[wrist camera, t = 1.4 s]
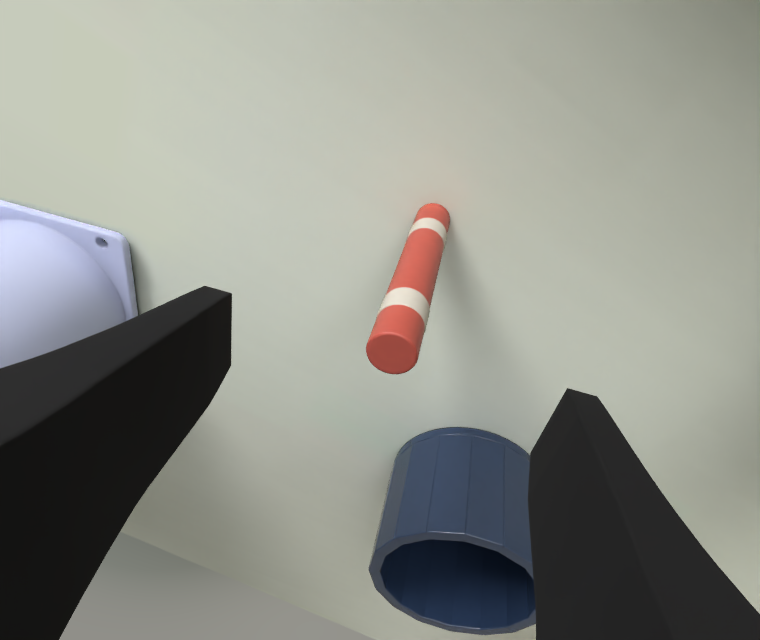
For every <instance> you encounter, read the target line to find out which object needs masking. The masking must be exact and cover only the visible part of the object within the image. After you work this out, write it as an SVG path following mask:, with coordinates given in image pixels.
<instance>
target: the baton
mask: <svg viewBox="0 0 760 640" xmlns="http://www.w3.org/2000/svg"><path fill="white" fill-rule="evenodd" d="M449 223H450V216H449V213H448V211H447V210H446V209H445V208H444V207H443V206H441V205H439V204H434V203H431V204H427V205H424V206H423V207H422V208H420V210H419V211H418V213H417V215H416V218H415V221H414V223H413V225H412V227H411V229H410V232H409V234H408V237H407V240H406V244H405V247H404V249H403V252H402V254H401V257H400V260H399V262H398V265H397V267H396V270H395V272H394V275H393V278H392V280H391V283H390V285H389V288H388V291H387V293H386V296H385V297H384V299H383V301H382V304H381V307H380V309H379V312H378V314H377V317H376V322H375V324H374V327H373V330H372V332H371V335H370V337H369V340H368V343H367V346H366V352H367V356H368V359H369V361H370V362H371V363H372V364H373V365H374V366H375V367H376V368H377V369H379V370H381V371H383V372H385V373H389V374H401V373H405V372H407V371H409V370H410V369H412V368H413V367H414V366H415V364H416V363H417V360H418V356H419V352H420V347H421V343H422V339H423V335H424V333H425V330H426V325H427V321H428V317H429V312H430V305H431V300H432V296H433V292H434V288H435V283H436V279H437V275H438V270H439V266H440V262H441V258H442V253H443V251H444V248H445V243H446V239H447V232H448V228H449Z"/></svg>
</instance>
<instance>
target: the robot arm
mask: <svg viewBox="0 0 760 640" xmlns="http://www.w3.org/2000/svg"><path fill="white" fill-rule="evenodd" d="M103 239H104V240H105V241H106V242H107V244H106V243H105V242H104V241H103ZM231 320H232V293H228V292H225V291H221V290H218V289H214V288H211V287H207V286H203V287H201V288H198V289H196V290H194V291H191V292H189V293H187V294H185V295H182V296H180V297H178V298H176V299H174V300H171V301H169V302H167V303H165V304H163V305H161V306H158V307H156V308H154V309H152V310H150V311H147V312H145V313H143V314H141V315H139V316H138V310H137V302H136V294H135V286H134V279H133V271H132V263H131V255H130V247H129V243H128V241H127V239H126V238H125V237H124V236H123V235H122V234H120V233H118V232H115V231H111V230H107V229H104V228H100V227H97V226H93V225H89V224H86V223H82V222H79V221H75V220H71V219H68V218H64V217H61V216H57V215H53V214H50V213H46V212H42V211H39V210H35V209H32V208H28V207H24V206H21V205H17V204H14V203H10V202H6V201H3V200H0V640H59V638H60V637H61V635H62V633H63V631H64V629H65V627H66V625H67V624H68V622H69V620H70V618H71V616H72V614H73V612H74V611H75V609H76V607H77V605H78V603H79V601H80V599H81V598H82V596H83V594H84V592H85V591H86V589H87V587H88V585H89V584H90V582H91V580H92V578H93V577H94V575H95V573H96V571H97V570H98V568H99V566H100V564H101V563H102V561H103V559H104V557H105V556H106V554H107V552H108V550H109V549H110V547H111V546H112V544H113V542H114V540H115V539H116V537H117V535H118V534H119V532H120V531H121V529H122V527H123V526H124V524H125V522H126V521H127V519H128V517H129V516H130V514H131V512H132V511H133V509H134V507H135V506H136V504H137V503H138V501H139V500H140V498H141V497H142V496H143V494H144V493H145V491H146V490H147V488H148V487H149V485H150V484H151V483H152V481H153V480H154V479H155V477H156V476H157V475H158V473H159V472H160V471H161V469H162V468H163V467H164V465H165V464H166V463H167V461H168V460H169V459H170V457H171V456H172V455H173V453H174V452H175V451H176V449H177V448H178V446H179V445H180V444H181V442H182V441H183V440H184V438H185V437H186V436H187V434H188V433H189V432H190V430H191V429H192V428H193V426H194V425H195V424H196V422H197V421H198V419H199V418H200V417H201V415H202V414H203V413H204V411H205V410H206V408H207V407H208V406H209V404H210V403H211V401H212V399H213V397H214V396H215V394H216V392H217V390H218V389H219V387H220V385H221V383H222V381H223V379H224V378H225V376H226V374H227V372H228V370H229V368H230V366H231ZM528 510H529V525H530V540H531V554H532V567H533V581H534V594H535V608H536V640H760V614H759V613H758V612H757V611H756V609H755V608H754V607H753V606H752V605H751V604H750V603H749V602H748V600H747V599H746V598H745V597H744V596H743V595H742V593H741V592H740V591H739V590H738V589H737V588H736V586H735V585H734V584H733V583H732V582H731V581H730V579H729V578H728V577H727V576H726V575H725V574H724V572H723V571H722V570H721V569H720V568H719V567H718V565H717V564H716V563H715V562H714V561H713V559H712V558H711V557H710V556H709V554H708V553H707V552H706V551H705V549H704V548H703V547H702V546H701V544H700V543H699V542H698V540H697V539H696V538H695V537H694V535H693V534H692V533H691V531H690V530H689V529H688V527H687V526H686V525H685V523H684V522H683V521H682V519H681V518H680V517H679V516H678V514H677V513H676V512H675V510H674V509H673V507H672V506H671V505H670V503H669V502H668V500H667V499H666V498H665V496H664V495H663V494H662V492H661V491H660V489H659V488H658V486H657V485H656V484H655V482H654V481H653V479H652V478H651V476H650V475H649V473H648V472H647V470H646V469H645V468H644V466H643V465H642V463H641V462H640V460H639V459H638V457H637V456H636V454H635V453H634V451H633V450H632V448H631V446H630V445H629V443H628V442H627V440H626V439H625V437H624V436H623V434H622V433H621V431H620V430H619V428H618V427H617V425H616V424H615V422H614V420H613V419H612V417H611V416H610V414H609V413H608V411H607V410H606V408H605V407H604V405H603V404H602V403H601V401H600V400H599V398H598V397H597V396H593V395H590V394H586V393H583V392H579V391H575V390H572V389H568V388H567V390H566V392H565V393H564V395H563V397H562V399H561V400H560V402H559V404H558V406H557V407H556V409H555V411H554V413H553V414H552V416H551V418H550V420H549V421H548V423H547V425H546V427H545V429H544V430H543V432H542V434H541V436H540V437H539V439H538V441H537V443H536V444H535V446H534V448H533V450H532V451H531V455H530V469H529V485H528Z"/></svg>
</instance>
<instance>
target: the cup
mask: <svg viewBox="0 0 760 640" xmlns="http://www.w3.org/2000/svg"><path fill="white" fill-rule="evenodd" d="M529 469H530V455H529V454H528V453H527V452H526V451H525V450H523V449H522V448H521V447H519V446H518V445H517V444H515V443H513V442H511V441H510V440H508V439H506V438H504V437H501V436H499V435H496V434H493V433H491V432H487V431H483V430H479V429H472V428H461V427H453V428H442V429H436V430H432V431H428V432H425V433H423V434H420V435H418V436H416V437H414V438H413V439H411V440H410V441H409V442H407V443H406V444H405V445H404V446H403V447H402V448H401V449H400V451H399V452H398V454H397V456H396V458H395V461H394V465H393V469H392V472H391V475H390V479H389V484H388V488H387V492H386V496H385V501H384V505H383V509H382V513H381V518H380V522H379V526H378V531H377V535H376V539H375V543H374V548H373V552H372V556H371V560H370V565H369V572H370V575H371V577H372V580H373V583H374V586H375V588H376V590H377V591H378V592H379V593H380V594H381V595H382V596H383V597H384V598H385V599H386V600H387V601H388V602H389V603H390V604H391V605H392V606H394V607H395V608H397V609H399V610H400V611H402V612H404V613H406V614H407V615H409V616H411V617H413V618H415V619H416V620H418V621H421V622H423V623H427V624H430V625H433V626H436V627H439V628H442V629H446V630H449V631H454V632H462V633H470V634H479V635H491V634H502V633H513V632H516V631H519V630H521V629H524V628H526V627H529V626H531V625H534V624H536V608H535V594H534V581H533V567H532V554H531V540H530V525H529V510H528V485H529Z"/></svg>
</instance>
